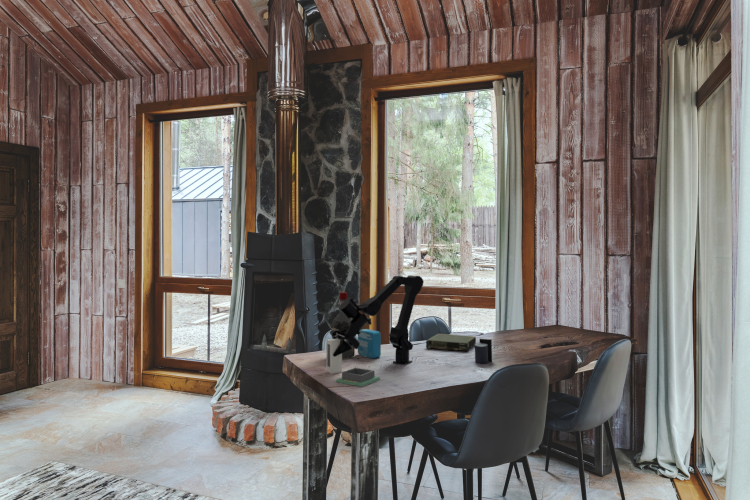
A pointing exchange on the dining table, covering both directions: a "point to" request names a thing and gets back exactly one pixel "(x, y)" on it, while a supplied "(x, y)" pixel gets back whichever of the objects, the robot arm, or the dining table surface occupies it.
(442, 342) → the network switch
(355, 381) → the green and grey tray
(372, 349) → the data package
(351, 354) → the liquor
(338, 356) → the white rectangular block
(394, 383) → the dining table surface
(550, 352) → the dining table surface
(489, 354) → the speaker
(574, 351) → the dining table surface
